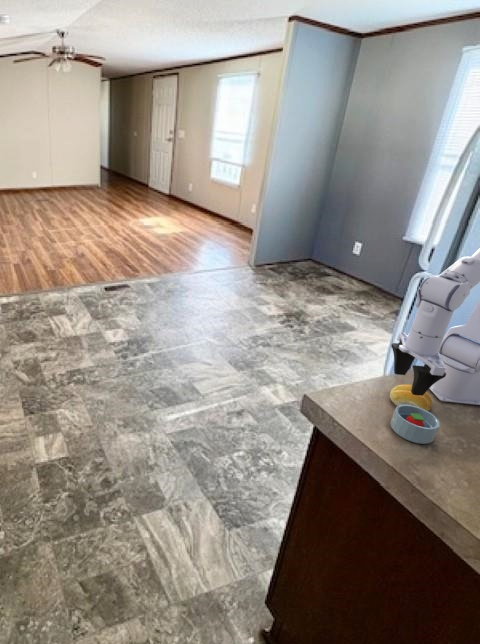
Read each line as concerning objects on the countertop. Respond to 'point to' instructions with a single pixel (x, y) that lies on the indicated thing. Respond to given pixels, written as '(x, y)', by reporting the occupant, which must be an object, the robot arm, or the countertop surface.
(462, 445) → the countertop surface
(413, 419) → the strawberry
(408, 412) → the bowl
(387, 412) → the countertop surface
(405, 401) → the bread roll
